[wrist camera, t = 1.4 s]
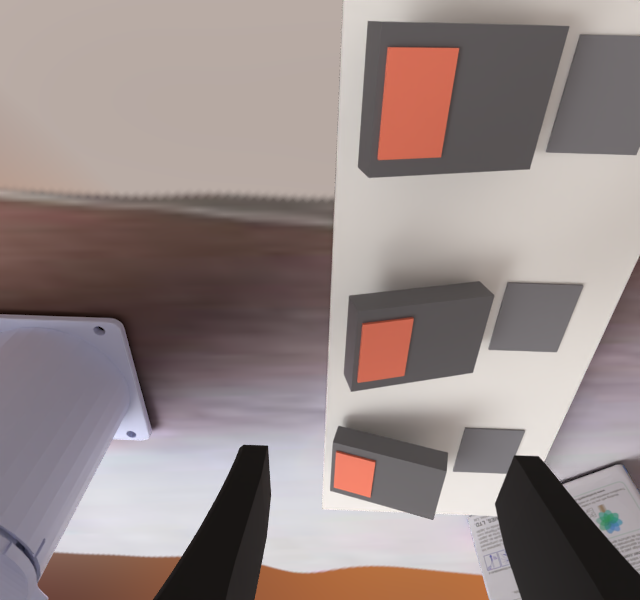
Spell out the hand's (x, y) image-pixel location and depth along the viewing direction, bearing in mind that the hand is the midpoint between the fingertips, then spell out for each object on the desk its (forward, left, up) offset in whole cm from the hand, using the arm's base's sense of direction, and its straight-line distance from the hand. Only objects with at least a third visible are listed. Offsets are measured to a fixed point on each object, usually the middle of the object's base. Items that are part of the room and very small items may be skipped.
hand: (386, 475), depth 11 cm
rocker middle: (+1, 0, -6) cm, 7 cm away
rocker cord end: (+1, +8, -6) cm, 10 cm away
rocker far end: (+1, -8, -6) cm, 10 cm away
